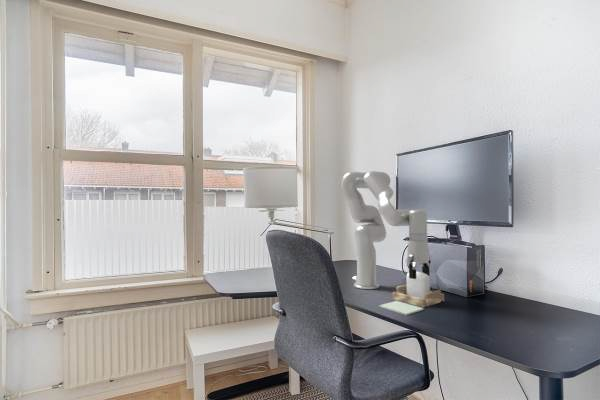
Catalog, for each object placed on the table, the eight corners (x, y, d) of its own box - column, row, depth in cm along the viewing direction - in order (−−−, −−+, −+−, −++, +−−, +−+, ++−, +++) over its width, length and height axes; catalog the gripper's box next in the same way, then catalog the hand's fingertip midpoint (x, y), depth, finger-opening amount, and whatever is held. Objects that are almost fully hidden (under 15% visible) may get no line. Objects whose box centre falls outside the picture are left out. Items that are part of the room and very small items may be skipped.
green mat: (379, 306, 137) (379, 305, 137) (396, 302, 143) (396, 300, 143) (406, 315, 126) (406, 313, 126) (423, 309, 133) (423, 308, 133)
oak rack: (392, 298, 148) (392, 287, 148) (413, 293, 157) (413, 282, 157) (423, 307, 136) (423, 295, 136) (444, 301, 145) (444, 289, 145)
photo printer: (405, 298, 149) (404, 270, 149) (410, 296, 152) (410, 269, 152) (426, 303, 141) (426, 274, 141) (431, 301, 144) (431, 273, 144)
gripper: (422, 236, 155) (423, 273, 154) (398, 238, 145) (399, 278, 144) (437, 237, 149) (438, 275, 148) (413, 239, 139) (415, 281, 138)
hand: (419, 277), depth 146 cm, fingers open, 9 cm apart
